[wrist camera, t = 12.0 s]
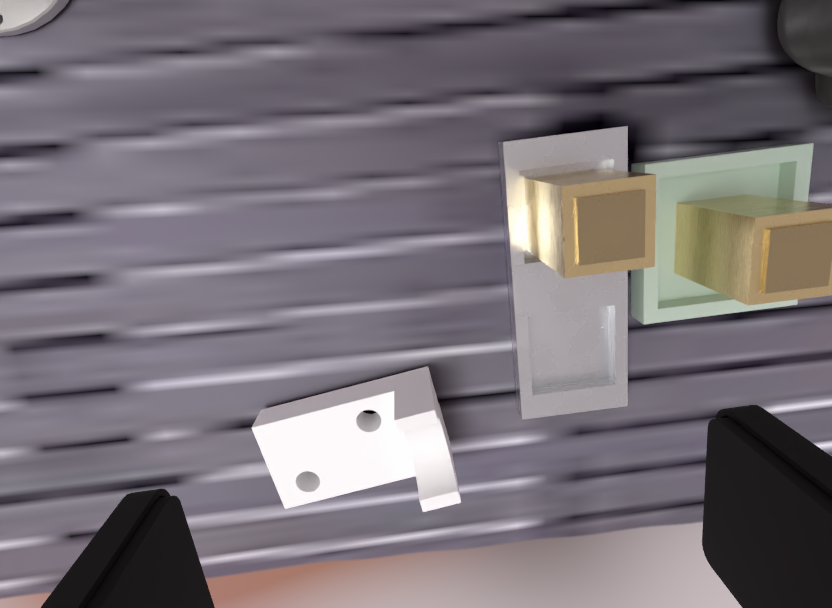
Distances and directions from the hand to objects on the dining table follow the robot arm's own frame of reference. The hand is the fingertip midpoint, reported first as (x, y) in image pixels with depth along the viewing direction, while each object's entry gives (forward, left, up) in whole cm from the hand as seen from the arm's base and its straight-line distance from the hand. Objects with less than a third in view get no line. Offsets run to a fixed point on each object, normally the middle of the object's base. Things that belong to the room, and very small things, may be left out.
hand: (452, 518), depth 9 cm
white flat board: (+4, +11, -28) cm, 30 cm away
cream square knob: (-1, +11, -28) cm, 30 cm away
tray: (+2, +21, -28) cm, 35 cm away
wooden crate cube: (+2, +21, -28) cm, 35 cm away
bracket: (+14, -6, -29) cm, 32 cm away
